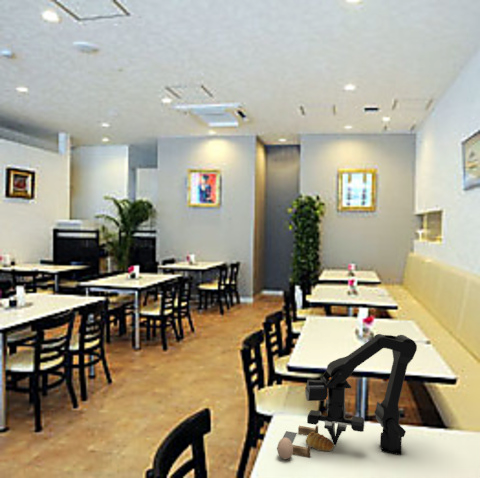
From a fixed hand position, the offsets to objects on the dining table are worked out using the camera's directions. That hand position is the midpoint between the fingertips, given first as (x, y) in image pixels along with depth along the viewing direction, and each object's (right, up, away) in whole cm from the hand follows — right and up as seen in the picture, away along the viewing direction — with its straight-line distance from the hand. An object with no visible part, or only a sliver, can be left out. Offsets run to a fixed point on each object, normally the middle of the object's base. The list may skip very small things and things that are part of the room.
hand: (335, 445), depth 157 cm
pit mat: (-16, -1, +5) cm, 17 cm away
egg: (-18, -2, -7) cm, 19 cm away
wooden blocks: (-10, -1, +4) cm, 11 cm away
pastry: (-5, -2, +3) cm, 6 cm away
